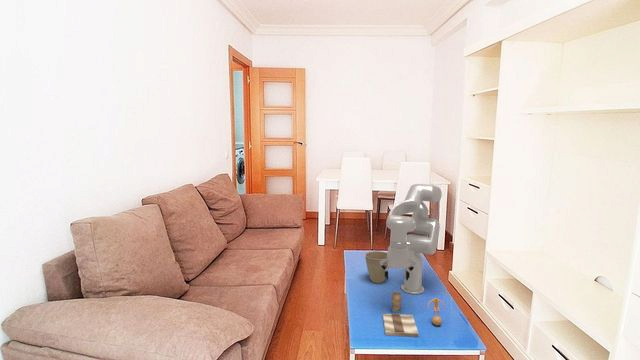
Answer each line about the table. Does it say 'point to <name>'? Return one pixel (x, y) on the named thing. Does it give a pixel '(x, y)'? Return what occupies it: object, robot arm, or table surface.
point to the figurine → (435, 319)
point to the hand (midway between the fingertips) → (396, 278)
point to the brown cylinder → (396, 302)
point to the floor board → (400, 325)
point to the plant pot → (376, 265)
